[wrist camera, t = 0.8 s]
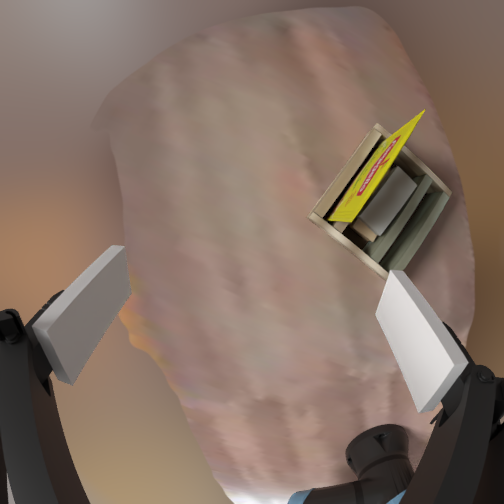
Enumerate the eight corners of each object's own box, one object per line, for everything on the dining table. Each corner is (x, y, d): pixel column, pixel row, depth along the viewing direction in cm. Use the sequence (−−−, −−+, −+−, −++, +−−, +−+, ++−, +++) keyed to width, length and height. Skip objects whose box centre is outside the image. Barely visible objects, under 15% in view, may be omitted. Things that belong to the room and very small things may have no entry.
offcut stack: (404, 185, 42) (419, 181, 36) (365, 241, 44) (377, 245, 38) (382, 166, 42) (396, 160, 36) (343, 223, 44) (351, 224, 38)
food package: (371, 146, 42) (422, 105, 22) (376, 150, 42) (430, 112, 22) (321, 217, 44) (347, 218, 25) (326, 222, 44) (356, 226, 25)
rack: (435, 194, 41) (452, 192, 35) (380, 277, 44) (392, 285, 38) (367, 133, 41) (377, 123, 36) (306, 217, 45) (309, 217, 39)
